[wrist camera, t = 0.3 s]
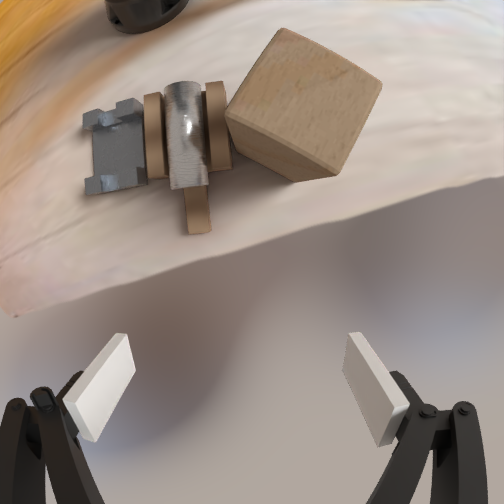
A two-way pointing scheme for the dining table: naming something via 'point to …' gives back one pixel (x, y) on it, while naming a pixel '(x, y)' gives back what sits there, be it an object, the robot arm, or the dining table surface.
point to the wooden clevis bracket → (214, 144)
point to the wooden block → (300, 108)
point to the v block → (117, 147)
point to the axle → (185, 135)
